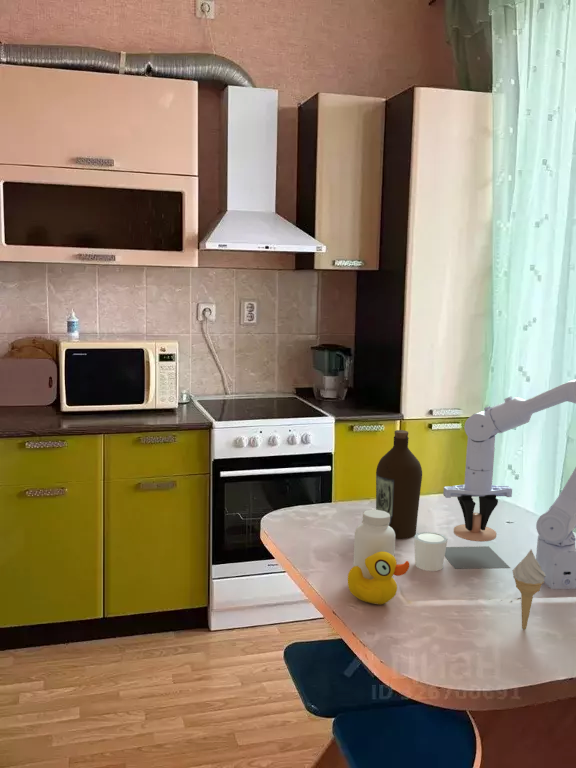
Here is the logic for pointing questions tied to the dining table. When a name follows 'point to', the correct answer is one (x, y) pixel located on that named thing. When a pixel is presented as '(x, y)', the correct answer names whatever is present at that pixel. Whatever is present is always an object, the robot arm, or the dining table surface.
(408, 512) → the olive oil
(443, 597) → the dining table surface
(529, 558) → the ice cream cone
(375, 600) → the duckling
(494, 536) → the lid
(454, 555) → the mat
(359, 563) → the pill bottle
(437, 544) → the white cup
